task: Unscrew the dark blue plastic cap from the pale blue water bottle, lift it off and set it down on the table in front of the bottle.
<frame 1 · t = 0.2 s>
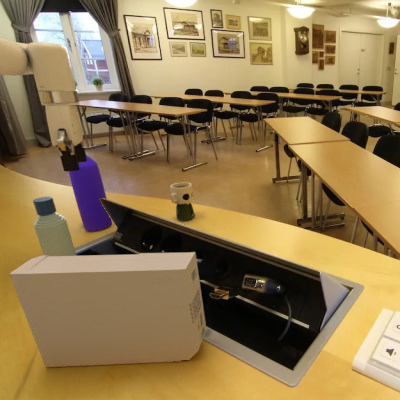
hand: (76, 166, 85), 27 cm above the table, tool pointing down, fingers open, 9 cm apart
cap: (43, 200, 82), point 19 cm above the table, screwed on, not yet turned
bottle: (98, 227, 111), on the table
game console: (131, 352, 61), on the table
water bottle: (63, 264, 89), on the table
character mug: (186, 218, 119), on the table
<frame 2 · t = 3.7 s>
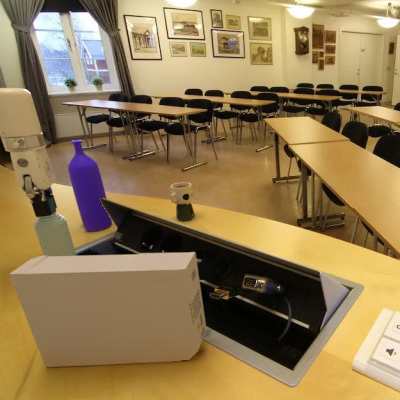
hand: (46, 212, 83), 16 cm above the table, tool pointing down, fingers closed on cap, 3 cm apart
cap: (43, 200, 82), point 19 cm above the table, screwed on, not yet turned, touching gripper
everything else where it was.
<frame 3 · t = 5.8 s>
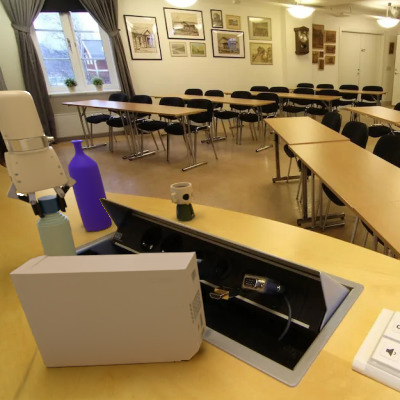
hand: (52, 213, 84), 15 cm above the table, tool pointing down, fingers closed on cap, 4 cm apart
cap: (47, 199, 82), point 19 cm above the table, turned 116° so far, risen 0.1 cm, still on its thread, touching gripper
water bottle: (63, 264, 89), on the table, touching gripper
everything else where it was.
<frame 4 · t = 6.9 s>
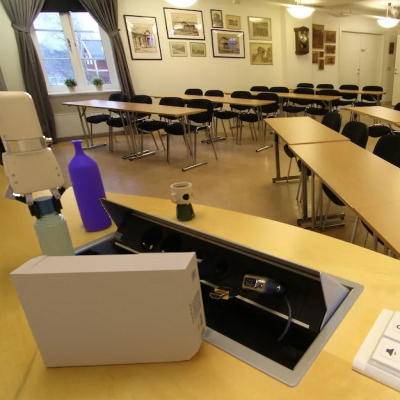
hand: (48, 214, 83), 15 cm above the table, tool pointing down, fingers closed on cap, 3 cm apart
cap: (43, 199, 82), point 19 cm above the table, turned 116° so far, risen 0.1 cm, still on its thread, touching gripper
everything else where it was.
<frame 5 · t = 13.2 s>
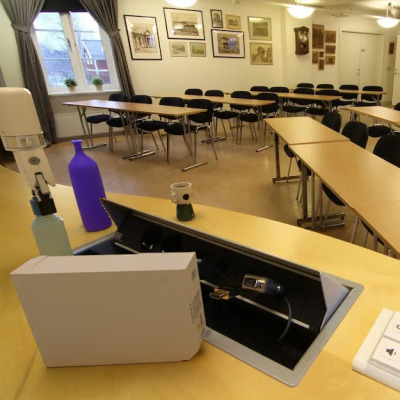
hand: (46, 211, 83), 16 cm above the table, tool pointing down, fingers closed on cap, 3 cm apart
cap: (39, 200, 81), point 19 cm above the table, turned 141° so far, risen 0.1 cm, still on its thread, touching gripper
water bottle: (60, 264, 89), on the table
everything else where it was.
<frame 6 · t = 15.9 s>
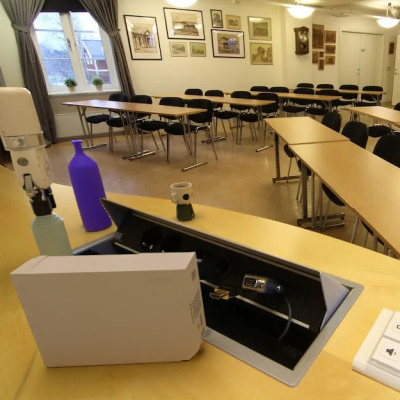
hand: (46, 211, 83), 16 cm above the table, tool pointing down, fingers closed on cap, 3 cm apart
cap: (39, 200, 82), point 19 cm above the table, turned 234° so far, risen 0.2 cm, still on its thread, touching gripper
everything else where it was.
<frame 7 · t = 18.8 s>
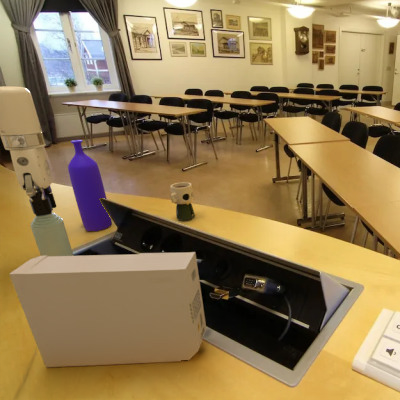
hand: (46, 210, 83), 16 cm above the table, tool pointing down, fingers closed on cap, 3 cm apart
cap: (39, 199, 82), point 19 cm above the table, turned 352° so far, risen 0.4 cm, still on its thread, touching gripper
everything else where it was.
when the fingers open (2 cm above the table, at t = 27.3 s): cap drops 2 cm, point 3 cm above the table.
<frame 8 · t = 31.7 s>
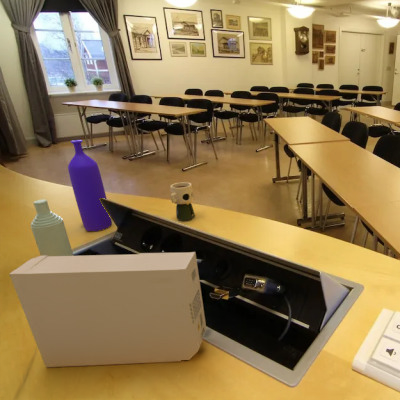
cap: (53, 280, 76), point 3 cm above the table, off its thread
everything else where it was.
at the end: cap came off its thread; cap point 3.3 cm above the table; the gripper is holding nothing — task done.
